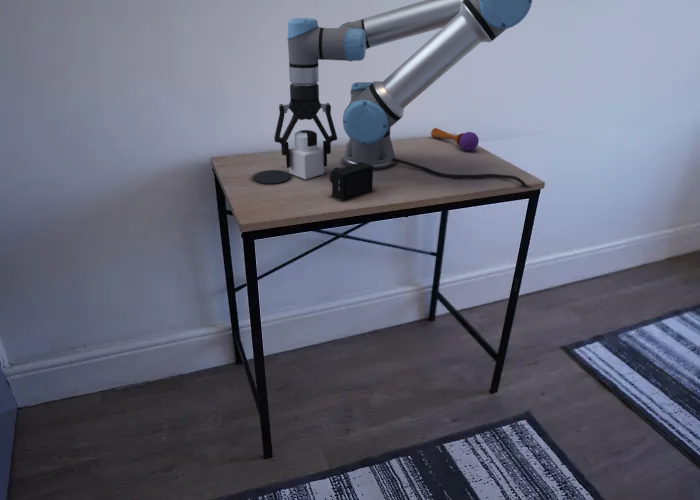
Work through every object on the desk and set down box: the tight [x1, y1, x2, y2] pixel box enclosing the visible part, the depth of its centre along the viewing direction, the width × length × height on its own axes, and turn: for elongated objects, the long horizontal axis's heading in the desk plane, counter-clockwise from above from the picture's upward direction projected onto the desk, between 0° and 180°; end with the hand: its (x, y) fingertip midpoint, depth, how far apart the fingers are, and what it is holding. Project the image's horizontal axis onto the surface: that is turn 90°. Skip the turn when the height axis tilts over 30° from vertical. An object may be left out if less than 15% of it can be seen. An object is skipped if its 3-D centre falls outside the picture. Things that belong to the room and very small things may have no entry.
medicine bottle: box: [288, 129, 325, 180], centre depth 145 cm, size 7×7×12 cm
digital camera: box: [329, 162, 374, 202], centre depth 134 cm, size 10×5×7 cm, turn 133°
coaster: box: [253, 169, 291, 185], centre depth 145 cm, size 10×10×1 cm
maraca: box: [430, 127, 480, 152], centre depth 173 cm, size 6×6×20 cm
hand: (306, 165), depth 147 cm, fingers closed on medicine bottle, 10 cm apart
